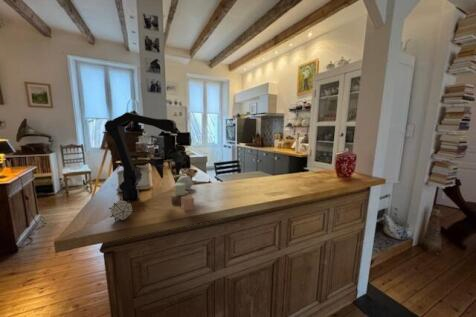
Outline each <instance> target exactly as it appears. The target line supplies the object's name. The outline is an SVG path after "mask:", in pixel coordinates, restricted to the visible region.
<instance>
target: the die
mask: <svg viewBox="0 0 476 317" xmlns="http://www.w3.org/2000/svg"><path fill="white" fill-rule="evenodd" d="M184 182H185V191H190V190H191V188H192V187H193V184H194V182H193V180H192V178H191V176H190V175H180V176H179V178H178V179H177V181H176V183H184ZM176 183H175V184H176Z"/></svg>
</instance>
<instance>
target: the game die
mask: <svg viewBox="0 0 476 317" xmlns="http://www.w3.org/2000/svg"><path fill="white" fill-rule="evenodd" d="M133 206H134V203H130V201H123V199H122V197H120V198H119V201H118V202H116V203H115V202H113V206H112V207H108V209H109V210H110V212H111V215H110V216H109V218H112V217H113V218H114V220H120V221H122V223H125V220H126V219H127V218H128V217H131V216H130V215H132V213H136V211H135V210H133Z"/></svg>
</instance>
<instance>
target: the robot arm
mask: <svg viewBox="0 0 476 317" xmlns="http://www.w3.org/2000/svg"><path fill="white" fill-rule="evenodd" d="M132 122H133V123H138V124H142V125H145V126H146V125H147V126H151V127H154V128H157V129H159V130H161V132H160V133H158V137H162V141H163V142H162V144H163V147H161V150H163V154H162V155H161V157H158V156H157V157H151V158H149V162H148V163H149V165H151V166H154V168H155V170H156V171H157V173H158V175H159V177H160V178H161V179H164V167H165V163H169V162H174V168H175V173H176V174H175V175H176V176H179V174H180V171H181V169H182V166H183V165H184V164H186V163H187V162H188V160H189V157H188V156H187V151H186V150H183V151H179V150H178V147H181V146H182V147H191V145H192V135H191V132H190V131H186V132H184V131H180V130H179V128H178V127H177V123H176V121H175V120H173V119H168V118H154V117H150V116H146V115H140V114H135V113H133V112H128V111H127V112H125V113H122V115H120V116H119V115H118V116H117V117H115V118H114V119H112V120H110V119H109V120H107V121H106V122H105V124H104V129H105V130H106V132H107V134H108V136H109V137H110V138H111V139H112V140H113V143H114V146H115V149H116V150H117V153H118V157H119V159H120V162H121V164H122V167H123V172H122V178H123V181H122V182H121V183H120V184H119V185H118V187H119V190H121V194H122V197H121V198H122V200H123V201H127V202H128V201H129V202H134V201H137V200H138V199H139V197H140V195H139V194H140V192H139V188H138V185H139V182H141V180H142V176H143V173H142V172H141V168H140V167H136V166H135V165H134V161H133V158H132V156H131V153H130V150H129V146H128V144H127V142H126V127H128V126H129V125H130V124H131V123H132ZM176 145H178V147H177V146H176Z"/></svg>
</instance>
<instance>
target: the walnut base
mask: <svg viewBox="0 0 476 317" xmlns="http://www.w3.org/2000/svg"><path fill="white" fill-rule="evenodd" d="M183 196H189V190H185V195H178V196H176V191H173V192H172V195H171V204H172V205H177V204H180V205H181V197H183Z"/></svg>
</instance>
